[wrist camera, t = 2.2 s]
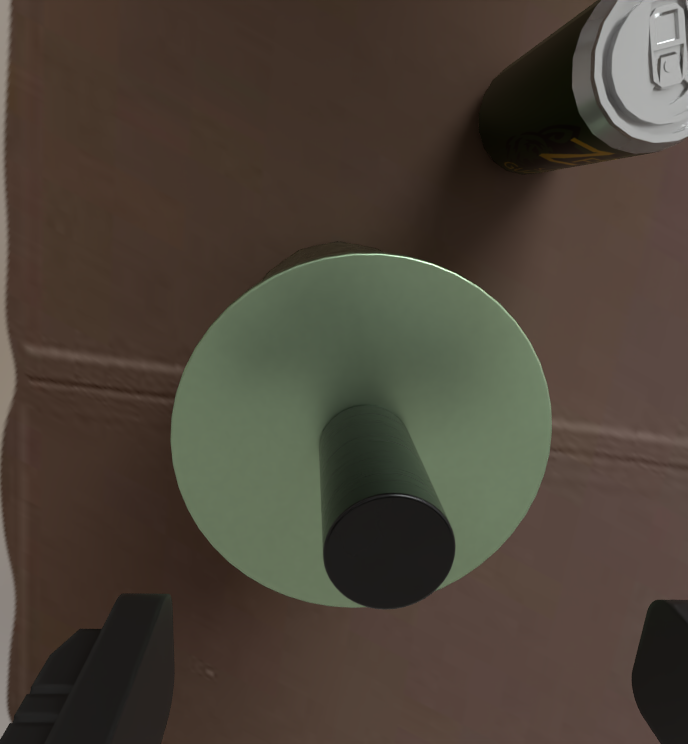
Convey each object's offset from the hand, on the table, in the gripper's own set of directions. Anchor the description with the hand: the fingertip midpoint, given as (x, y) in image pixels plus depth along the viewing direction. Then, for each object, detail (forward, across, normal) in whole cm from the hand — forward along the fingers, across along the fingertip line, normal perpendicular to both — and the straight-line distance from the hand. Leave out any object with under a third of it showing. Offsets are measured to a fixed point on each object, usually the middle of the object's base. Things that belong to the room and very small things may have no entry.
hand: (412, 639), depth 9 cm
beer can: (+23, -9, -12) cm, 28 cm away
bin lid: (+8, 0, 0) cm, 8 cm away
